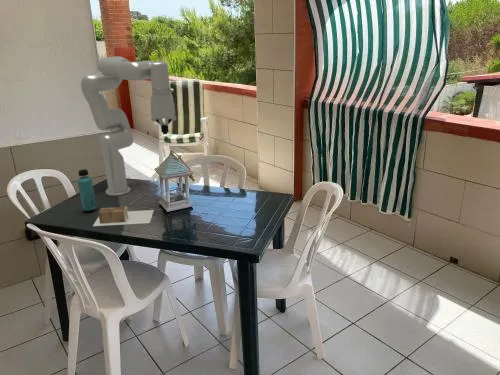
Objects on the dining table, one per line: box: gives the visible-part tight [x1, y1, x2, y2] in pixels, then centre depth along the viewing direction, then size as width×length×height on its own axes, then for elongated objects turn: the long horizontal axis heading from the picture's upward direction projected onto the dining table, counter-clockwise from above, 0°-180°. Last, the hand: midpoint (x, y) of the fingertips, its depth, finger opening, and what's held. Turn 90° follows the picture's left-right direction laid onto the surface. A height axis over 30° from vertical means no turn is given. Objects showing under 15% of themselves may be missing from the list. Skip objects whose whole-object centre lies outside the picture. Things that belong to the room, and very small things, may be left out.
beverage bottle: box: [77, 168, 97, 212], centre depth 185 cm, size 6×7×20 cm
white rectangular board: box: [92, 209, 155, 227], centre depth 180 cm, size 14×24×1 cm, turn 95°
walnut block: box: [97, 206, 128, 223], centre depth 177 cm, size 5×5×11 cm
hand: (165, 133), depth 180 cm, fingers closed
